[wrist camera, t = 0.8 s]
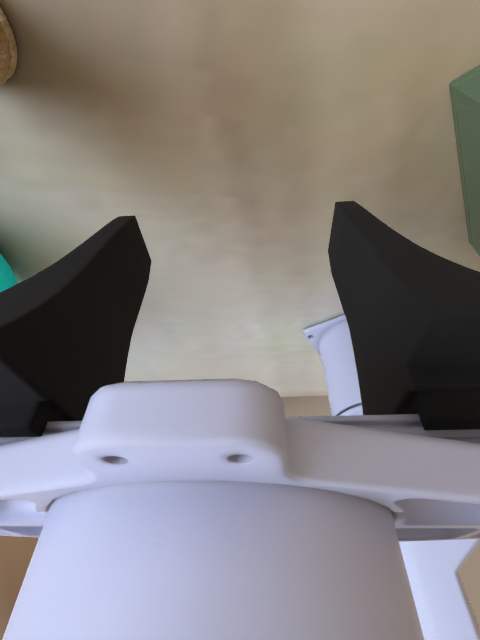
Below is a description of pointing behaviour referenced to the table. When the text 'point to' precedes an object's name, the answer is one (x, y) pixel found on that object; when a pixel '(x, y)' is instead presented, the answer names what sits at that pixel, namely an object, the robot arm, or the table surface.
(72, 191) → the table surface
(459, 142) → the chest
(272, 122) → the table surface
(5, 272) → the donuts
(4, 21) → the sprinkles bottle
